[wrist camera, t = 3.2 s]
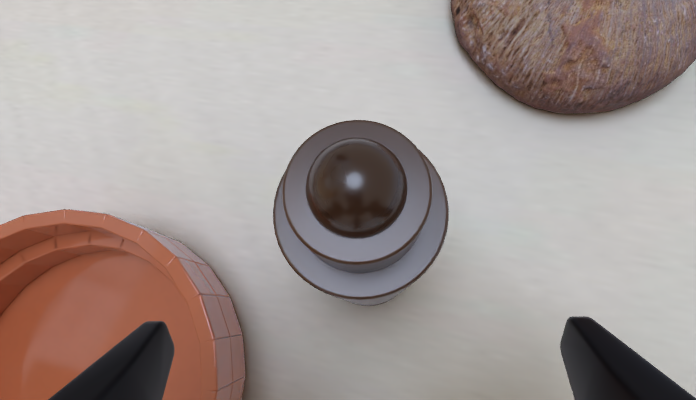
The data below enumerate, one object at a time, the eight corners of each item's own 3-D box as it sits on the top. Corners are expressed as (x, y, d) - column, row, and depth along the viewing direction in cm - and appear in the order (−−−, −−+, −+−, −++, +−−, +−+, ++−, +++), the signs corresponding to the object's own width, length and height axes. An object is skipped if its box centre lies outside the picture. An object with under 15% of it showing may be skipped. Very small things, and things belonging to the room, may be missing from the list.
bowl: (160, 608, 17) (98, 695, 13) (-98, 459, 19) (-218, 497, 15) (296, 291, 20) (277, 286, 16) (58, 190, 22) (-10, 163, 18)
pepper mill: (394, 320, 19) (427, 336, 7) (307, 284, 20) (194, 239, 7) (426, 233, 20) (507, 109, 8) (342, 201, 21) (294, 38, 8)
